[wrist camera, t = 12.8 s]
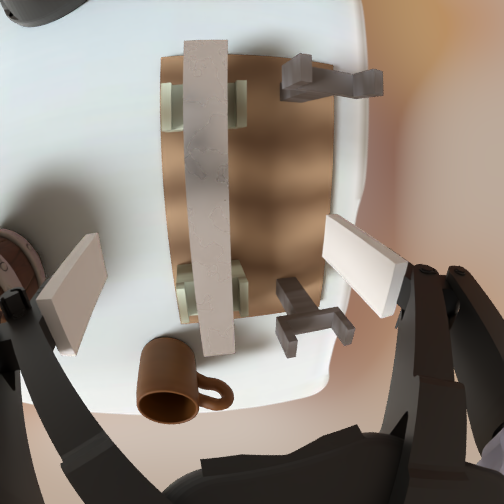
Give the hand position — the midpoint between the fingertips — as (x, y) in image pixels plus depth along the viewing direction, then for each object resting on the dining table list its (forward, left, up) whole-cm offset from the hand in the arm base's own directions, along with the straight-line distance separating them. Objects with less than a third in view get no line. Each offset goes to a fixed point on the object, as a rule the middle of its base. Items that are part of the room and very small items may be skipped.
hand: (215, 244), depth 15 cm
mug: (+22, -5, -15) cm, 27 cm away
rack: (0, +5, -15) cm, 16 cm away
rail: (0, 0, -10) cm, 10 cm away
